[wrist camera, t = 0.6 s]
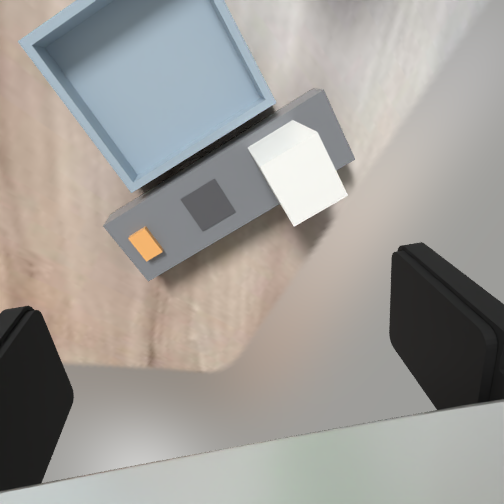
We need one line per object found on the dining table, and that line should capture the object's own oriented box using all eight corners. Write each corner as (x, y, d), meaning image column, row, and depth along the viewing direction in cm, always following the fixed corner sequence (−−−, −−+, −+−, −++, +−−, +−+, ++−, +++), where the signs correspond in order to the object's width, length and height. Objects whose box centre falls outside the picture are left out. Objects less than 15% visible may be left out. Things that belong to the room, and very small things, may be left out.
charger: (287, 117, 32) (317, 131, 24) (311, 165, 34) (348, 195, 26) (244, 143, 32) (259, 166, 24) (271, 189, 34) (293, 226, 26)
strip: (313, 88, 32) (326, 90, 29) (343, 152, 35) (358, 160, 31) (110, 214, 34) (101, 228, 31) (152, 266, 37) (147, 284, 34)
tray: (186, -61, 27) (184, -76, 25) (270, 100, 32) (276, 102, 29) (35, 44, 29) (17, 41, 26) (137, 183, 34) (131, 193, 31)
